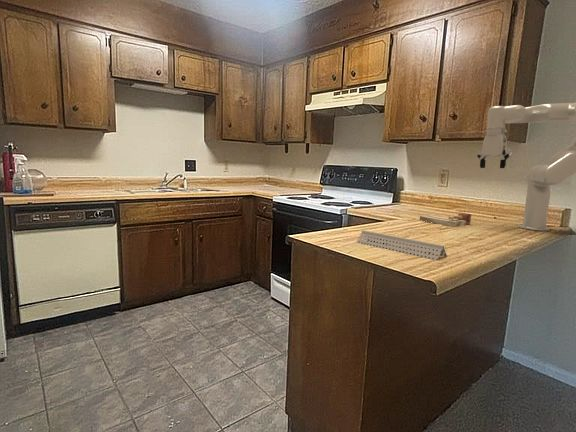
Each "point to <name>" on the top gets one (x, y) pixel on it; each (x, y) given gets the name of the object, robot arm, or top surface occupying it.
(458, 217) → the gauge
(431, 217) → the board
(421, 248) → the corner bead
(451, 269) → the top surface
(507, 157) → the robot arm
